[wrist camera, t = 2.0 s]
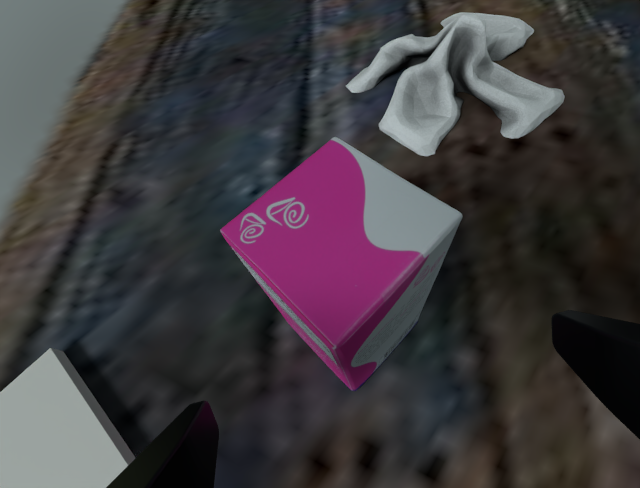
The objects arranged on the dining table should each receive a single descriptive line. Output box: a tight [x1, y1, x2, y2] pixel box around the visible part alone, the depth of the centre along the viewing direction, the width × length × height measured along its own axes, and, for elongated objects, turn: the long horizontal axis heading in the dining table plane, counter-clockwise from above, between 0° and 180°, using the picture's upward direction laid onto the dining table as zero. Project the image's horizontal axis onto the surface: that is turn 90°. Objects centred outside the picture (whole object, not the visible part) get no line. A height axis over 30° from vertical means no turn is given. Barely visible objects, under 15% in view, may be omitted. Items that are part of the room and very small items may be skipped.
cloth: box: [346, 12, 565, 156], centre depth 28 cm, size 22×19×6 cm
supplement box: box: [220, 137, 462, 391], centre depth 15 cm, size 6×6×12 cm
